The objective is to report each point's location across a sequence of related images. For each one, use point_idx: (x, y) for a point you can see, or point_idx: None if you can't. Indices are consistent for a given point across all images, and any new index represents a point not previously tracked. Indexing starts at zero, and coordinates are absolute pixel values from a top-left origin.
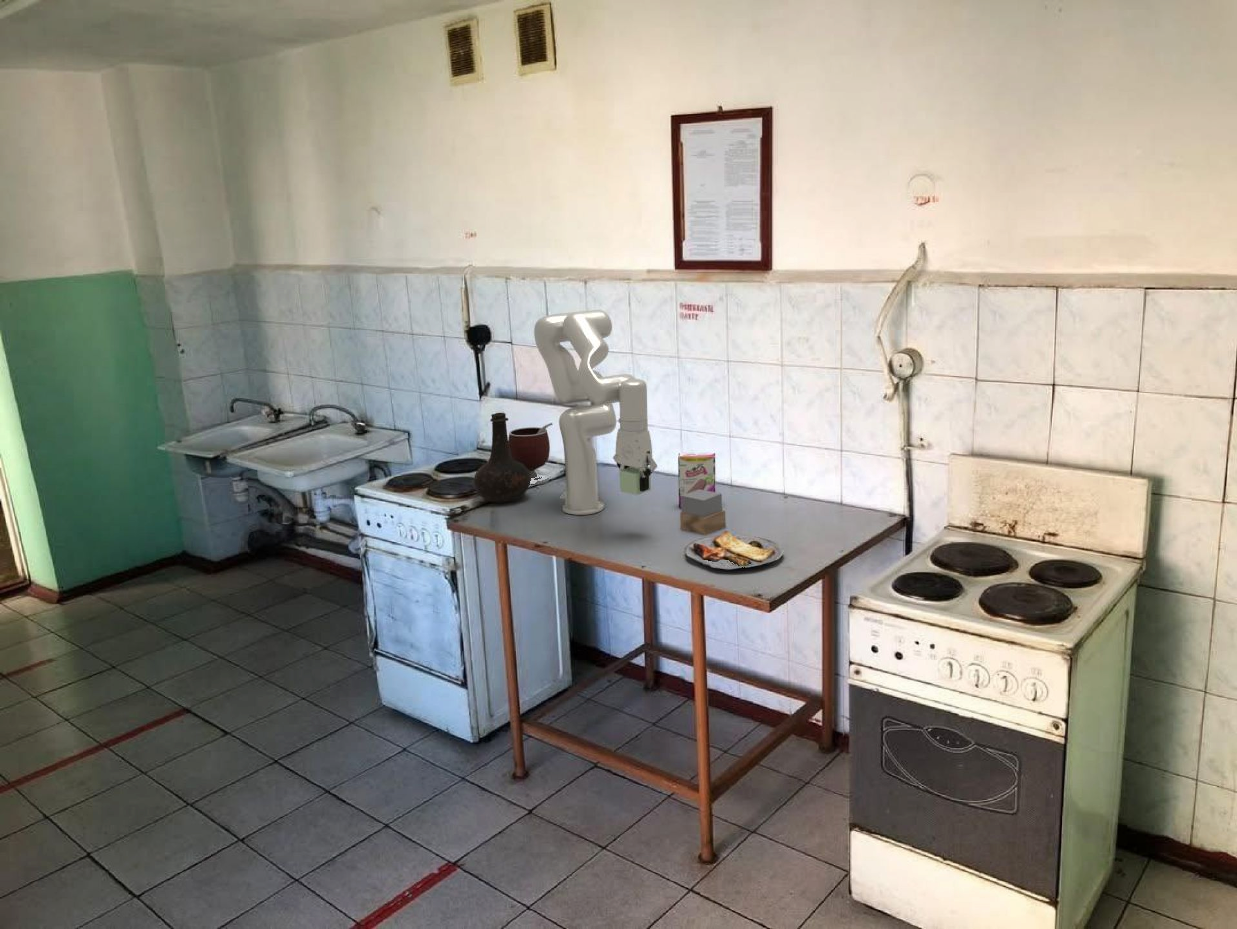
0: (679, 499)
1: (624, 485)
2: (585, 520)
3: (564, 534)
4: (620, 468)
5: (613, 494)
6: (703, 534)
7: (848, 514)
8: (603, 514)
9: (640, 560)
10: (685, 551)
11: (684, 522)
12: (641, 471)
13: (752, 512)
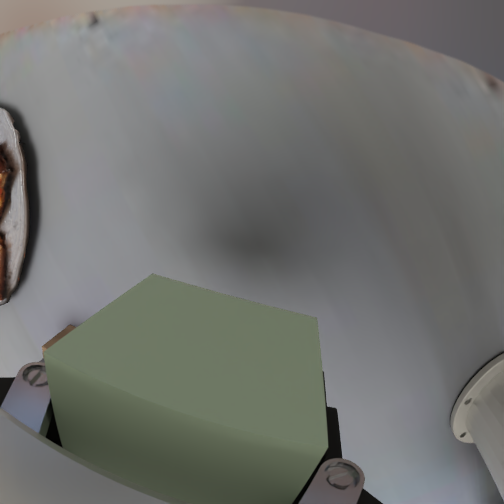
0: None
1: (264, 333)
2: (477, 325)
3: (487, 173)
4: (350, 495)
5: (442, 487)
6: (75, 327)
7: None
8: (441, 391)
9: (116, 47)
10: (18, 136)
11: None
12: (23, 405)
13: None
